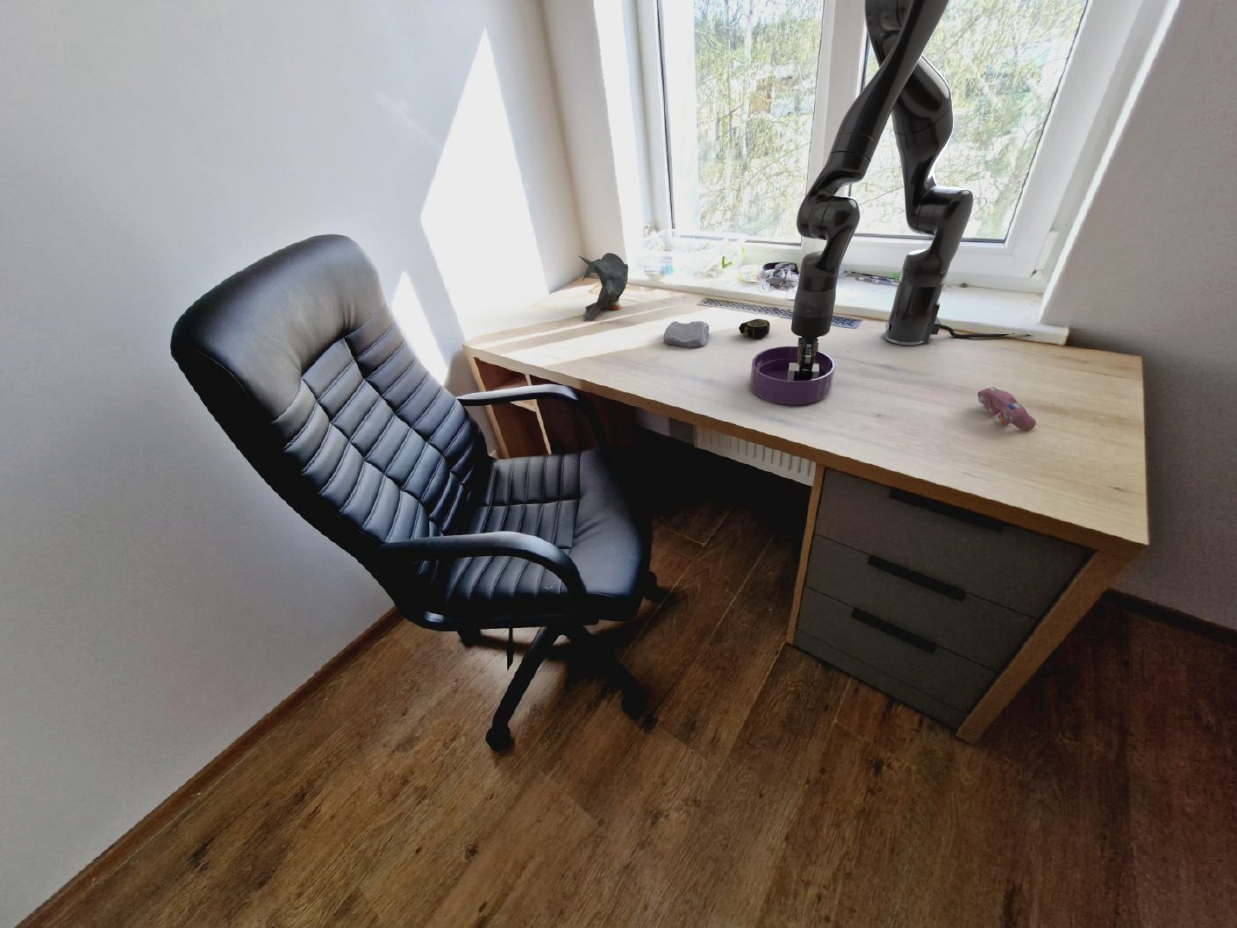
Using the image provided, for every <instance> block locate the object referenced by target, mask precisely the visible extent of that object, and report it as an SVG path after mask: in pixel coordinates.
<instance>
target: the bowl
mask: <svg viewBox="0 0 1237 928" xmlns="http://www.w3.org/2000/svg"><path fill="white" fill-rule="evenodd" d="M797 352H798V345H797V346H795V345H785V346H776V347H771V348H767V349H765V350H762V351H760V352H758V353H757V354H756V355H755V356H754V357H753V358H752V360H751V361H752V362H751V371H750V381H749V382H750V384H749V385H750V388H751V391H752V392H753V393H754V394H755V395H757V396H758V397H760V398H761V399H763V400H766V401H767V402H768V401H769V402H771V403H775V404H778V405H785V406H801V405H807V404H811V403H812V404H813V403H815V402H818V401H820V400H823V399H824V398H825V397H827V396H828V395H829V394H830V392H831V390H832V384H833V379H834V374H835V369H836V363H835V361H834V359H833V358H832V357H831V356H830V355H828V354H827V353H826V352H824V351H821V350H818V351H817V352H816V356H815V363H814V364H819V375H818V378H816V379H812V380H805V381H787V379H788V372H789V364H790V363H797V358H798V356H797Z"/></svg>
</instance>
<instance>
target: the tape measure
mask: <svg viewBox="0 0 1237 928" xmlns="http://www.w3.org/2000/svg"><path fill="white" fill-rule="evenodd" d="M770 329H771V323H770V321H769V320H767V319H764V318H763V319H762V318H754V319H751V320H748V321H745V322H742V323H740V325H739V326H738V330H739V332H740V334H742V335H745V336H747V337H749V338H752V339H753V338H754V339H758V338H764V337H766V336H767V335H769V334H770Z"/></svg>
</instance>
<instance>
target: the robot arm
mask: <svg viewBox="0 0 1237 928" xmlns="http://www.w3.org/2000/svg"><path fill="white" fill-rule="evenodd" d="M949 2H950V0H864V5H863V6H864V8H863V9H864V22H865V27H866V31H867V36H868V39H869V42H870V44H871V48H872V51H873V53H874V57H875V60H876V62H877V65H878V69H877V71H876V72H875V73H874V75H872V77H871V78H870V80H869V81H868V83H866V85H865V86H864V88H863V89H862V90H861V91H860V92H859V94H858V95H857V97H856V98H855V99H854V101H853V102H852V103H851V104H850V106H849V108H848V110H847V111H846V113H845V114H844V116H843V117H842V119H841V121H840V124H839V125H838V129H837V131H836V134H835V136H834V139H833V141H832V145H831V148H830V150H829V153H828V156H827V159H826V162H825V164H824V166H823V167H822V169H821V170H820V172H819V173H818V176H817V177H816V179H815V180H814V182H813V183H812V185H811V187H810V188H809V190H808V192H807V193H806V195H805V196H804V198H803V200H802V201H801V204H800V206H799V208H798V210H797V214H796V219H795V220H796V221H795V223H796V225H795V226H796V229H797V232H798V234H799V235H800V236H801V237H803V238H807V239H814V240H821V241H825V242H826V244H825V246H824V248H823V250H816V251H811V252H808V253H806V254H804V255H803V257H802V259H801V262H800V267H799V273H798V282H797V288H796V292H795V295H794V303H793V310H792V317H791V323H790V324H791V325H790V331H791V333H792V334H793V335H795V336H797V337H798V338H797V346H798V352H797V356H798V358H797V364H798V365H799V370H798V372H797V373H798V380H797V381H805V380H809V377H811V375H812V368H813V365H814V363H815V356H816V352H817V351H819V346H820V345H819V344H820V343H819V338H821V337H825V336H826V335H827V334H829V333H830V331H831V326H832V320H833V315H834V309H835V304H836V298H837V285H838V279H839V274H840V268H841V264H842V261H843V260H844V258H845V255H846V253H847V250H848V248H849V245H850V243H851V241H852V239H853V237H854V235H855V233H856V231H857V228H858V226H859V223H860V220H861V207H860V205H859V202H858V201H857V199H856V198H854V197H851V196H843V195H836V194H837V193H838V192H839V191H840V190H841V189H842V188H843V187H846V186H849V185H853V184H857V183H859V182H861V181H862V180H863V179H865V177H866V175H867V173H868V170H869V169H870V166H871V163H872V160H873V158H874V155H875V154H876V150H877V148H878V145H879V142H880V140H881V137H882V135H883V132H884V130H885V128H886V125H887V123H888V121H889V119H890V118H891V124H892V131H893V136H894V141H895V146H896V149H897V154H898V158H899V162H900V163H899V164H900V169H901V176H902V182H903V194H904V209H905V219H906V220H905V221H906V224H907V227H908V228H909V230H910V231H911V232H913V233H915V234H919V235H925V236H931V237H932V238H933V239H932V241H931V243H930V246H928V247H924V248H919V249H915V250H912V251H910V252H908V253H907V254H906V256H905V258H904V260H903V263H902V268H901V272H900V276H899V279H898V284H897V287H896V291H895V294H894V298H893V302H892V305H891V310H890V314H889V317H888V320H887V321H885V332H884V335H883V337H884V339H885V340H886V341H887V342H889V343H892V344H895V345H900V346H918V345H923V344H929V341H930V338H931V335H932V336H938V335H939V331H940V329H941V330H945V331H946V332H947V331H948V333H949V335H950V336H951V337H953V338H958V339H972V338H973V339H975V338H976V339H980V338H981V339H982V338H983V339H985V338H986V339H987V338H990V339H991V338H1001V337H1006V336H1010V335H1014V334H1015V333H1012V334H997V333H956V332H955V331H954V329H953V328H952V327H951V326H948V325H945V324H942V323H941V321H940V320H939V317H938V313H939V311H940V307H941V304H940V302H939V301H940V298H941V295H942V292H943V290H944V289H943V288H944V286H945V282H946V279H947V276H948V273H949V269H950V267H951V263H952V261H953V260H954V257H955V256H956V254H957V252H958V249H959V246H960V244H961V240H962V238H963V235H964V234H965V231H966V228H967V226H968V223H969V221H970V217H971V215H972V211H973V208H974V201H975V196H974V192H973V191H972V190H971V189H968V188H962V187H952V186H951V187H949V186H939V184H937V182H936V178H935V166H936V164H937V161H938V160H939V159H940V157H941V156H942V154H943V152H944V150H945V149H946V147H947V145H948V143H949V141H950V140H951V137H952V135H953V131H954V127H955V114H954V107H953V106H954V105H953V95H952V91H951V88H950V86H949V84H948V82H947V81H946V79H945V78H944V76H943V75H942V74H941V73H940V71H938V70H937V68H936V67H935V66H934V65H933V64H932V63H931V62H930V61H929V60H928V59H927V58H926V56H925V55H924V54H923V53H924V52H925V49H926V48H927V46H928V44H929V42H930V40H931V39H932V37H933V34H934V33H935V31H936V29H937V27H938V25H939V23H940V21H941V19H942V18H943V15H944V13H945V12H946V9H947V7H948V4H949ZM1028 336H1029V337H1031V336H1030V335H1028ZM803 369H806V370H803Z"/></svg>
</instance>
